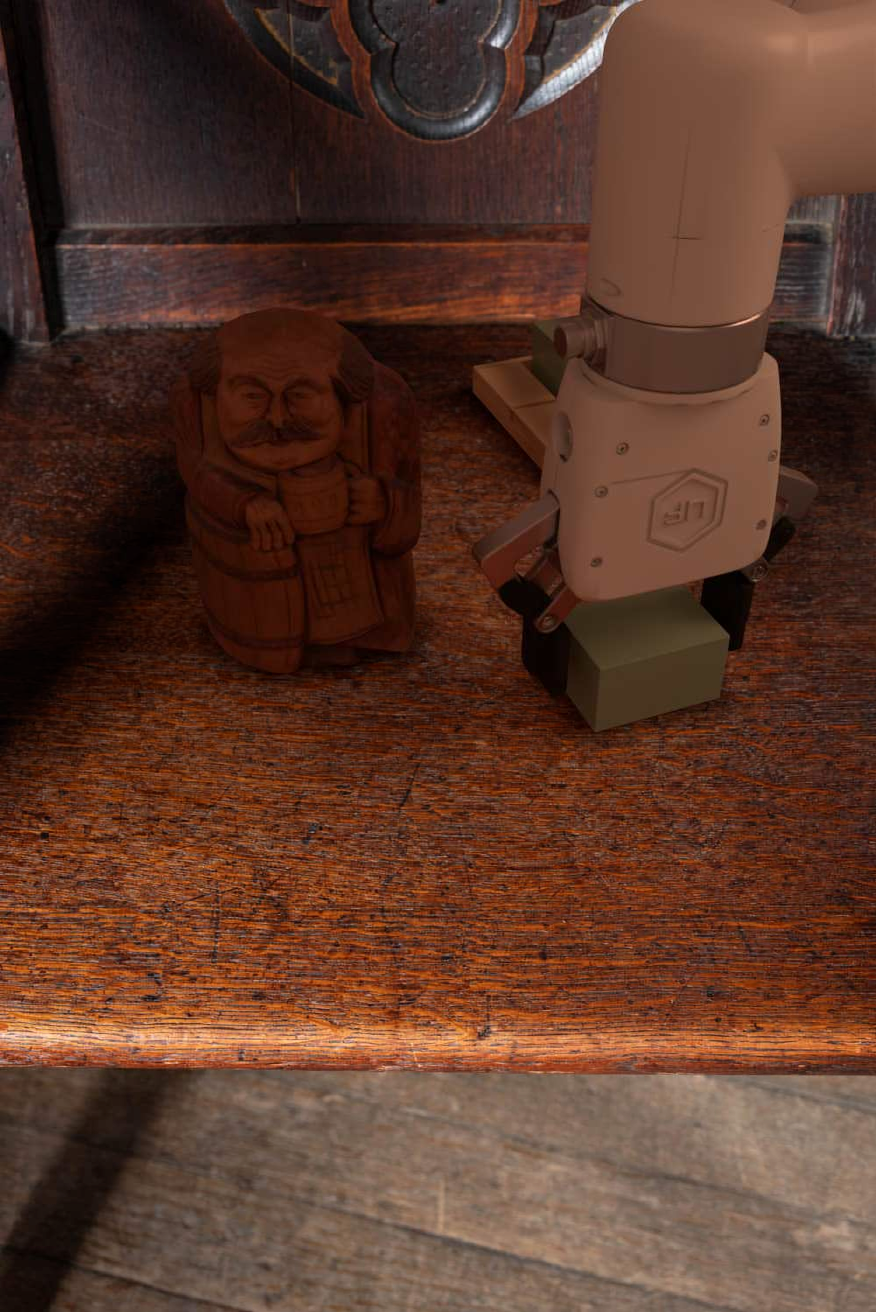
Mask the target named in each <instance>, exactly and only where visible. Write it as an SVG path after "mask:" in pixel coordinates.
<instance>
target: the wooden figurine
mask: <svg viewBox="0 0 876 1312" xmlns="http://www.w3.org/2000/svg"><path fill="white" fill-rule="evenodd" d="M169 405H170V412H171V417H172V423H173V429H174V438H175V446H176V464H177V467H178V468H177V469H178V472H179V474H180V477H181V479H182V482H183V483H184V485H185V487H186V490H185V494H184V509H185V522H186V525H187V531H188V537H189V546H190V551H191V557H192V561H193V568H194V569H193V570H194V573H195V578H196V583H197V588H198V591H199V596H200V599H201V602H202V605H203V611H204V615H205V619H206V623H207V625H208V629H209V631H210V633H211V635H212V637H213V638H214V639H215V641H216V642H217V643H218V644H219V646H221V648H222V649H223V652H225V653H226V654H227V655H228V656H229V657H232V658H234V659H236V660H237V661H239V662H240V663H241V664H243V665H245V666H248V667H251V668H254V669H258V670H261V671H265V672H270V673H275V674H292V673H294V672H296V671H297V670H298V669H299V668H300V667H303V666H313V667H320V668H327V667H331V666H335V665H337V666H349V665H354V664H358V663H359V662H360V661H361V660H362V659H363V657H364V656H365V655H366V654H367V652H369V651H386V652H394V653H399V654H400V653H401V654H402V653H406V652H407V651H408V650H409V649H410V647H411V645H412V643H413V642H414V639H415V631H416V625H417V623H416V622H417V621H416V600H417V599H416V598H417V593H416V592H417V588H416V587H417V586H416V582H417V581H416V576H415V569H414V561H413V551H412V549H414V548H415V547H416V546H417V545H418V543H419V540H420V535H421V532H422V521H423V520H422V518H423V508H422V507H423V492H422V491H423V490H422V450H421V427H420V420H419V419H420V418H419V412H418V406H417V400H416V397H415V395H414V393H413V391H412V389H411V387H410V385H409V384H408V383H407V382H406V380H404V378H403V377H402V376H401V375H400V373H398V372H397V371H394V370H393V369H391V368H390V367H388V366H386V365H385V364H383V363H381V362H379V361H377V360H376V359H374V358H373V357H372V355H371V353H370V352H369V350H368V349H367V348H366V347H365V346H364V345H363V342H362V341H361V340H360V339H359V338H358V336H356V335H354V334H353V333H352V332H351V331H349V330H348V329H347V328H345V326H344V325H341V324H340V323H338V322H337V320H334V319H333V318H331V317H328V316H327V315H324V314H323V313H319V312H317V311H313V310H307V309H300V308H289V307H270V308H263V309H260V310H255V311H250V312H247V313H243V314H241V315H237V317H234V318H232V319H230V320H228V321H226V322H225V323H224V324H222V325H221V326H220V327H218V328H217V329H214V330H213V331H211V332H210V334H209V335H207V337H206V338H205V339H204V340H203V341H202V342H201V343H200V345H198V346H197V348H196V349H195V350H194V352H193V354H192V356H191V357H190V359H189V362H188V366H187V372H186V373H184V375H182V376H181V377H180V378H179V379H178V380H177V381H176V382H174V383H173V385H172V387H171V390H170V392H169Z"/></svg>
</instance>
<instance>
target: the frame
mask: <svg viewBox="0 0 876 1312" xmlns="http://www.w3.org/2000/svg"><path fill="white" fill-rule="evenodd" d="M578 317H579V314H575V315H574V314H573V315H569V316H568V315H567V316H563V317H557V318H552V319H547V320H540V321H536V322H533V323H532V338H531V339H532V341H531V355H527V356H521V357H517V358H511V359H504V360H500V361H495V362H488V363H483V364H478V365H473V366H472V393H473V394H474V395H475V396H476V398H478V400H479V401H480V402H481V404H483V405H484V406H485V408H486V409H487V410H488V411H489V412H490V413H491V415H492V416H493V417H494V418H495V419H496V421H498V423H499V424H500V425H501V426H502V427H503V428H504V429H505V430H506V431H507V433H508V434H509V435H510V436H511V438H512V439H514V441H515V442H516V443H517V444H518V445H519V446H520V447H521V449H522V450H523V451H524V452H525V453H526V455H528V456H529V458H530V459H531V460H532V461H533V462H534V464H535V465H536V466H537V468H539V469H540V470H541V471H542V469H543V462H544V455H545V449H546V444H547V438H548V433H549V428H550V424H551V419H552V415H553V410H554V406H555V403H556V399H557V395H558V392H559V388H560V385H561V382H562V378H563V375H564V372H565V369H566V366H567V363H568V361H569V360H570V359H572V358H575V357H576V356H572V357H566V358H561V357H560V356H559V355H558V354H557V351H556V349H555V345H554V330H555V327H556V326H557V325H559V324H565V323H571V321H572V320H573V319H575V318H578Z"/></svg>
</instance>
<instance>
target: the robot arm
mask: <svg viewBox="0 0 876 1312" xmlns="http://www.w3.org/2000/svg"><path fill="white" fill-rule="evenodd" d="M599 77H600V78H599V79H600V80H599V90H598V91H599V93H598V104H597V105H598V106H597V119H596V136H595V150H594V163H593V177H592V191H591V192H592V193H591V205H590V206H591V207H590V219H589V232H588V244H587V258H586V273H585V286H584V293H581V294H580V299H579V314H578V315H579V317H578V318H575V319H573V320H572V321H571V323H565V324H559V325H557V326H556V327H555V330H554V345H555V349H556V351H557V354H558V355H559V356H560V357H561V358H566V357H572V356H576V357H575V358H572V359H570V360H569V361H568V363H567V366H566V369H565V372H564V375H563V378H562V382H561V385H560V388H559V392H558V395H557V399H556V403H555V406H554V410H553V415H552V419H551V424H550V428H549V433H548V438H547V444H546V449H545V455H544V462H543V469H542V470H541V477H540V483H539V484H540V485H539V494H538V500H536V501H535V502H534V503H532V504H531V505H529V506H528V507H527V508H525V509H523V510H522V511H520V512H519V513H517V514H516V515H515V516H513V517H512V518H509V520H507V521H506V522H504V523H503V524H501V525H500V526H498V527H497V528H495V529H494V530H492V531H490V532H489V533H488V534H486V535H485V536H483V537H482V538H481V539H479V540H478V541H476V542H475V543H474V544H473V545H472V548H471V550H470V554H471V557H472V558H473V559H474V561H475V563H476V564H477V566H478V567H479V569H480V571H481V572H482V574H483V576H484V577H485V578H486V580H487V581H488V583H489V585H490V586H491V588H492V589H493V591H494V593H496V595H497V596H498V598H499V599H500V600H501V602H502V603H503V604H504V605H505V606H506V607H507V608H508V609H510V610H512V611H513V612H514V613H516V614H517V615H519V616H520V617H522V627H521V650H520V651H521V652H520V653H521V654H520V655H521V660H522V664H523V667H524V668H525V670H526V671H527V673H528V674H529V675H530V677H535V676H536V677H537V679H538V681H539V682H540V683H541V685H542V686H543V687H544V689H545V690H546V692H547V693H548V695H549V696H550V697H551V698H555V697H556V698H557V697H560V696H563V695H564V693H565V691H566V690H567V678H568V666H569V653H570V640H571V633H570V630H569V628H568V627H567V625H566V624H565V623H564V622H563V620H564V619H565V618H566V617H567V616H568V614H569V613H570V612H571V611H572V610H573V609H574V607H575V606H577V605H579V603H580V602H581V601H585V602H602V601H609V600H615V599H620V598H624V597H629V596H633V595H637V594H642V593H646V592H650V591H654V590H659V589H663V588H667V587H671V586H676V585H680V584H683V585H684V584H687V583H691V582H696V581H700V580H703V582H702V589H701V596H700V601H699V603H700V604H701V605H702V606H703V607H704V608H705V609H706V610H707V612H708V613H709V614H710V615H711V616H712V617H713V618H714V619H715V620H716V621H717V622H718V624H719V625H720V626H721V627H722V628H723V629H724V630H725V631H726V632H727V633H728V634H729V635H730V639H729V645H728V651H727V652H735V651H738V650H741V649H742V647H743V643H744V637H745V633H746V632H745V631H746V628H747V622H748V621H749V618H750V612H751V608H752V603H753V596H754V591H755V585H756V583H761V582H762V581H764V580H765V579H766V578H767V577H768V575H769V574H770V572H771V564H770V562H771V561H772V560H773V559H774V558H775V557H776V556H777V555H778V554H779V553H780V552H781V551H782V550H783V549H784V548H785V547H786V545H787V544H789V543H790V542H791V540H792V539H793V538H794V537H795V534H796V531H797V528H796V526H795V525H796V524H797V522H801V520H802V519H803V517H804V516H805V515H806V512H807V511H808V509H809V508H810V506H811V505H812V503H813V501H814V500H815V498H816V497H817V495H818V493H819V489H820V488H819V486H818V485H817V484H816V483H815V482H814V481H813V480H811V479H810V478H809V477H808V476H807V475H805V474H804V473H803V472H801V471H799V470H796V469H793V468H790V467H788V466H784V465H782V464H780V460H781V459H780V458H781V445H782V443H781V442H782V403H781V402H782V401H781V387H780V384H781V383H780V373H779V365H778V361H777V360H776V359H775V358H774V357H773V356H772V355H771V354H769V352H766V351H765V349H766V343H767V338H768V337H767V336H768V331H769V325H770V319H771V315H772V314H771V313H772V307H773V301H774V294H775V289H776V283H777V277H778V272H779V271H778V270H779V266H780V259H781V253H782V248H783V241H784V235H785V230H786V224H787V219H788V214H789V210H790V207H791V206H792V204H793V203H794V202H795V201H797V200H799V199H802V198H814V197H826V196H841V195H842V196H844V195H845V196H846V195H860V194H871V193H876V0H640V1H636V2H634V3H632V4H629V6H627V7H625V9H623V10H622V11H621V12H620V13H619V14H618V15H617V16H616V18H614V21H613V22H612V24H611V25H610V26H609V29H608V31H607V34H606V38H605V41H604V44H603V51H602V59H601V66H600V76H599ZM537 548H538V549H539V551H540V553H542V554H541V555H540V556H539V557H538V559H536V561H535V562H534V564H532V566H531V567H530V568H529V570H527V572H526V573H525V575H521V574H520V573H518V572H517V571H516V565H517V563H518V562H519V561H520V560H521V559H522V558H523V557H525V556H527V555H528V554H529V553H531V552H533V551H534V550H535V549H537ZM560 575H561V577H562V580H561V581H560V582H558V584H557V586H555V588H554V589H553V590H552V591H551V593H550V594H548V593H547V591H548V589H549V588H550V587H551V586H552V584H553V583H554V582H555V581H556V579H557V578H558V577H559V576H560Z"/></svg>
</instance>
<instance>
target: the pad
mask: <svg viewBox="0 0 876 1312" xmlns="http://www.w3.org/2000/svg"><path fill="white" fill-rule="evenodd" d="M563 622H564V623H565V624H566V625H567V627H568V628H569V630H570V633H571V640H570V653H569V666H568V678H567V690H566V691H564V693H566V695H567V696H568V698H569V699H570V701H571V702H572V703H573V705H574V706H575V707H576V709H577V710H578V712H579V714H581V716H582V717H583V718H584V720H585V722H586V723H587V725H588V726H589V727H590V728H591V730H592V731H593V732H594V733H598V732H602V731H606V730H609V729H613V728H617V727H620V726H625V725H628V724H631V723H635V722H639V721H642V720H646V719H649V718H654V717H656V716H660V715H664V714H668V713H672V712H675V711H677V710H678V711H679V710H683V709H686V708H689V707H693V706H696V705H701V704H702V703H703V704H704V703H707V702H710V701H715V700H718V699H720V697H721V691H722V686H723V679H724V675H725V668H726V664H727V663H726V662H727V657H728V652H729V651H728V645H729V639H730V635H729V634H728V633H727V632H726V631H725V630H724V629H723V628H722V627H721V626H720V625H719V624H718V622H717V621H716V620H715V619H714V618H713V617H712V616H711V615H710V614H709V613H708V612H707V610H706V609H705V608H704V607H703V606H702V605H701V604H700V601H698V600H697V598H696V597H695V596H694V595H693V594H692V593H691V591H689V589H688V588H687V587H685V585H684V584H680V585H676V586H671V587H667V588H663V589H659V590H654V591H650V592H646V593H642V594H637V595H633V596H629V597H624V598H620V599H615V600H609V601H602V602H590V601H588V602H586V603H582V604H577V605H576V606H575V607H574V609H573V610H572V611H571V612H570V613H569V614H568V616H567V617H566V618H565V619H564V620H563Z"/></svg>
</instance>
